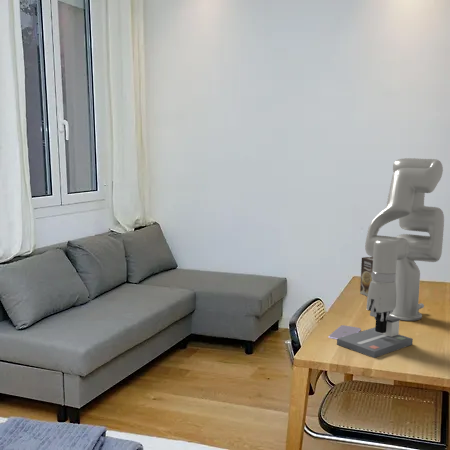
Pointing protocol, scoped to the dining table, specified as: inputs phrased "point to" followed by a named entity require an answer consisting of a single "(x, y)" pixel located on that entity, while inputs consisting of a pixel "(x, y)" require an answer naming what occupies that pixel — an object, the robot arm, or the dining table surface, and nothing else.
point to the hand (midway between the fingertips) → (380, 331)
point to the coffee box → (366, 274)
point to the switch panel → (373, 342)
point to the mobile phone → (344, 331)
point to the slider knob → (392, 326)
